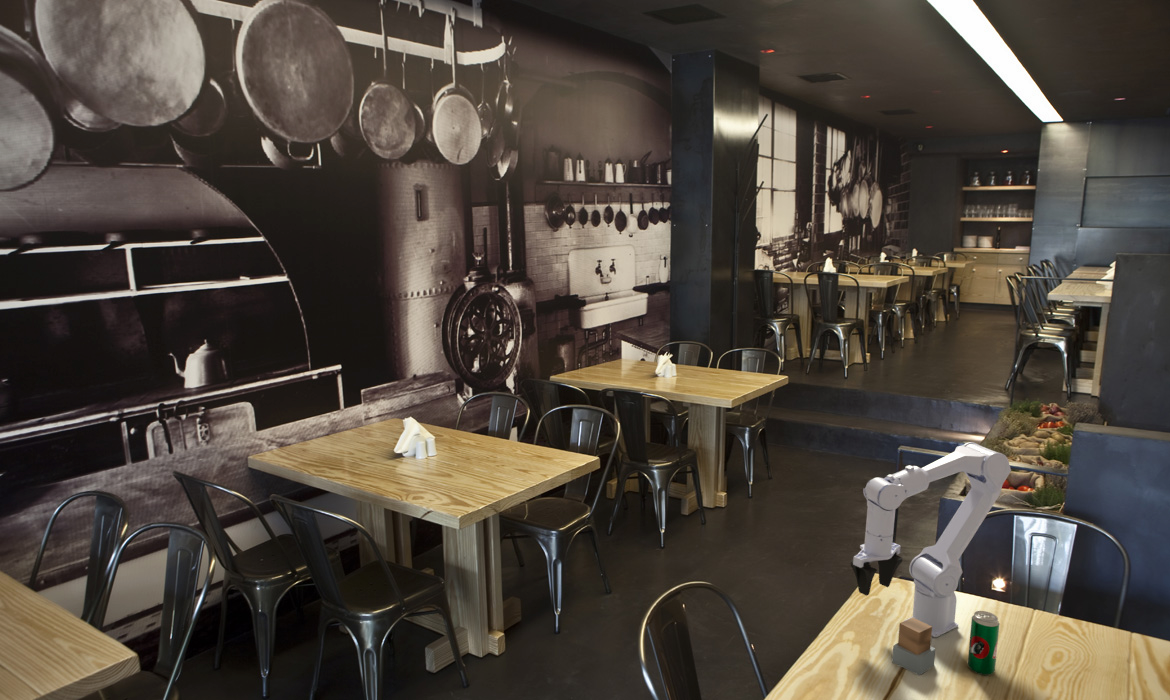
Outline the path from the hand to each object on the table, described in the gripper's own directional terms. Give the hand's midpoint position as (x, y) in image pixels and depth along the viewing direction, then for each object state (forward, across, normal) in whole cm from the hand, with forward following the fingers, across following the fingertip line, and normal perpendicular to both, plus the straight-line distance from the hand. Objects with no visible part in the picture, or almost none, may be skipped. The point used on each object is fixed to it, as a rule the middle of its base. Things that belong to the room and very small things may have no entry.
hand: (874, 589), depth 167 cm
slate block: (+11, +3, +13) cm, 17 cm away
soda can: (+10, -7, +22) cm, 25 cm away
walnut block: (+7, +3, +13) cm, 15 cm away
